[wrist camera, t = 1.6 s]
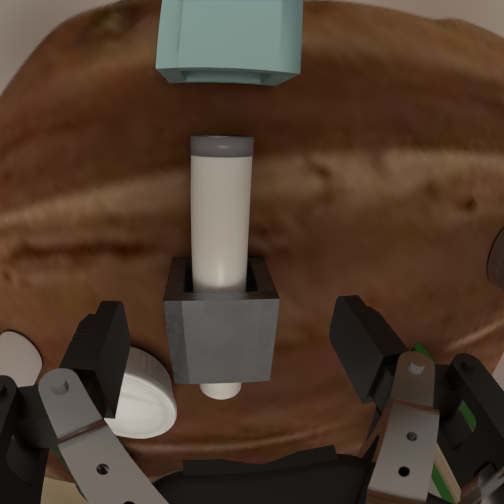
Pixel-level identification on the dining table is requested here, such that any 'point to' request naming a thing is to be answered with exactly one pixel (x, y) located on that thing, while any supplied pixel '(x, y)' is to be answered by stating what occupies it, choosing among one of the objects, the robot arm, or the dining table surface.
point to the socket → (230, 41)
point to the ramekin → (144, 398)
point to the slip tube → (220, 221)
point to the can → (19, 359)
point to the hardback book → (442, 475)
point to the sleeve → (221, 327)
